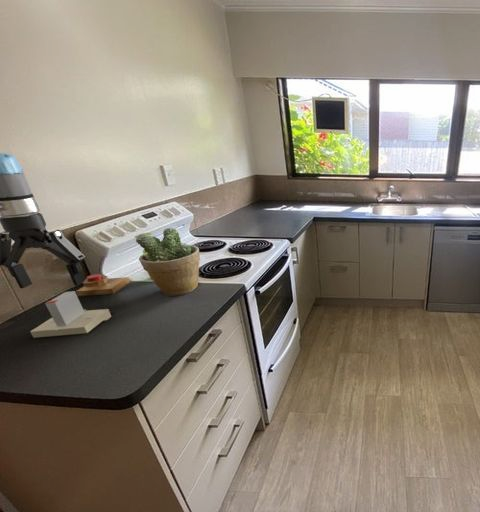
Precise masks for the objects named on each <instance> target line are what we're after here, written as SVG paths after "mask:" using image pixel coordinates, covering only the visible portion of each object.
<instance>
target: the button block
mask: <svg viewBox="0 0 480 512" xmlns="http://www.w3.org/2000/svg"><path fill="white" fill-rule="evenodd" d="M101 277H102V279H100V280H98V281H93V282H88V280H87V278H85V279H84V280H85V281H84V282H82V285H83V286H82V287H80V288H79V289H77V290H76V291H75V293H76V295H77V297H85V296H99V295H100V296H101V295H113V294H115V293H117V292H118V291H120V290H121V289H123V288H124V287H125V286H127V285H128V284H130V283H131V280H130V277H129V276H127V277H110V278H109V277H108V276H107V275H105V274H103V275H102V274H101Z"/></svg>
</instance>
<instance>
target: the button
mask: <svg viewBox="0 0 480 512" xmlns="http://www.w3.org/2000/svg"><path fill="white" fill-rule="evenodd" d="M101 275H102V274H101V273H95V274H91V275H88V276H86V279H87V280H88V282H93V281H98V280H100V279H102V277H101Z"/></svg>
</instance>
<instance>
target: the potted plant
mask: <svg viewBox="0 0 480 512" xmlns="http://www.w3.org/2000/svg"><path fill="white" fill-rule="evenodd" d="M162 233H163V235H162V236H163V238H162V239H160V238H158V237H156V236H153V235H150V236H149V235H148V234H143V233H139V234H140V235H139V234H138V235H139V236H138V237H137V238H135V243H137V244H138V245H139V246H140V247H141V248H142V249H143V250H145V252H147V253H145V254H143V253H142V254H141V255H140V256H139V258H138V261H139V262H140V264H141V266H142V268H143V270H144V271H146V272H147V274H148V276H149V278H150V279H151V280H152V281H153V282H154V284H155V285H156V286H157V287H158V288H159V290H160V291H161V292H162V293H163V295H165V296H166V297H167V296H168V297H176V296H177V297H178V296H182V295H185V294H189V293H191V292H193V291H194V290H195V289H197V288H198V285H199V273H200V270H199V269H200V260H201V257H200V248H199V247H198V246H196V245H193V244H187V243H186V242H185V243H182V241H181V240H182V239H181V236H180V234H179V231H178V230H177V228H174V227H167V228H164V230H163V232H162Z"/></svg>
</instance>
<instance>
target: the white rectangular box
mask: <svg viewBox="0 0 480 512" xmlns="http://www.w3.org/2000/svg"><path fill="white" fill-rule="evenodd" d="M44 304H45V306H46V308H47V310H48V312H49V314H50V316H51V318H53V320H54V321H55V323H56V325H57V326H67V325H68V324H70V323H71V322H72V321H74V320H75V319H77V318H78V317H80V316H81V315H82V314H84V313H85V312H84V310H85V309H84V308H83V306H82V304H81V302H80V299H79V296H78V295H77V293H76V291H75V290H74V291H73V290H72V291H65V292H63V293H60V294H59V295H57V296H56V297H54V298H52V299H51V300H48V301H46V302H45V303H44Z"/></svg>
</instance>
